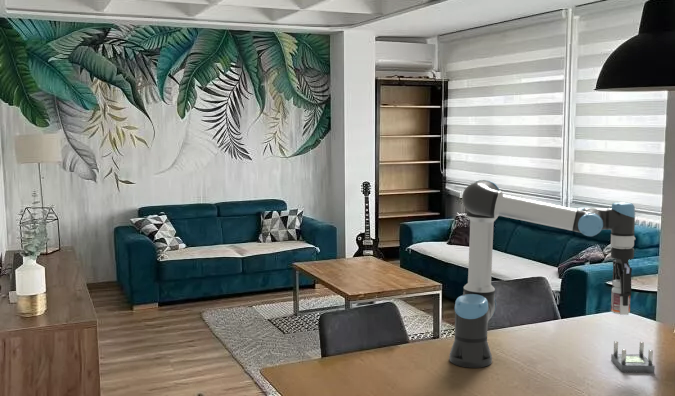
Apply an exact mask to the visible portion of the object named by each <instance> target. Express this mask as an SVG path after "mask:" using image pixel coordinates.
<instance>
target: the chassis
mask: <svg viewBox="0 0 675 396" xmlns="http://www.w3.org/2000/svg"><path fill="white" fill-rule="evenodd" d="M644 347H645V343H644V341H640V342H639V351H638V354H637V353H634V354H633V353H632V354H631V353H627V349H624V348H622V349H621V353H619V341H616V340H615V341H613V353H611V355H610V356H611V357H610V361H611V362H612V363H613V364H614V365H615V367H616V368H617V369H618V370H619V371H620V372H621V373H636V374H637V373H643V374H648V373H649V374H654V373H655V367H656V366H655V365H654V364H653V357H654V356H653V354H654V350H653V349H648V353H647V354H648V357H646V356H645V355H644V352H645V351H644V349H645V348H644Z"/></svg>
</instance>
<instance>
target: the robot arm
mask: <svg viewBox="0 0 675 396" xmlns="http://www.w3.org/2000/svg"><path fill="white" fill-rule="evenodd" d="M461 198H462V199H461V200H462V203H463V207H464V208H465V209H466V212H465V213H466V215H465V216H466V218H467V219H468V220H469V242H468V243H469V247H468V273H467V275H468V276H467V283H466V284H464V286H463V292H462V293H463V294H462V295H460V296H458V297H457V298H456V300H455V302H454V303H455V304H454V339H453V340H454V341H453V343H452V346H451V349H450V351H449V362H450V363H452V364H453V365H455V366H458V367H463V368H470V369H473V368H474V369H477V368H478V369H479V368H485V367H488V366H490V365H492V363H493V356H492V353H491V350H490V346H489V342H488V323H489V322H490V320H491V319H492V318H493V316H494V315H495V313H496V310H497V301H496V300H497V299H496V295H495V294H496V288H495V287H494V285H492V272H493V271H492V269H493V268H492V267H493V247H494V246H493V245H494V243H493V242H494V241H493V240H494V225H495V223H494V222H495V221H496V220H497V219H498V217H504V218H508V219H509V218H510V219H514V220H517V221H518V220H520V221H524V222H528V223H532V224H536V225H537V224H538V225H541V226H542V225H543V226H547V227H552V228H557V229H562V230H567V231H570V232H571V231H572V232H576V233H581V234H582V235H583V236H587V237H594V236H597V235H598V234H600V233H601V231H602V230H607V231H609V230H610V231H611V233H610V246H611V248H610V257H611V258H612V259H615V260H612V285H611V287H612V288H613V287H615V286H613V280H616V279H620V284H621V295H619V296H620V314H619V315H622V316H624V315H625V316H627V315H628V316H629V315H630V313H629V296H630V297H631V296H632V273H633V272H632V271H633V268H632V267H630V263H629V261H630V260H633V259H634V258H635V249H634V246H635V241H636V237H635V225H636V224H635V222H636V216H635V215H636V211H635V204H634V203H631V202H624V201H620V202H618V201H617V202H613V203H612V204H611V206H610V207H611V208H610V207H609V208H608V207H607V208H606V207H605V208H604V207H602V208H601V207H587V206H586V207H577V208H572V207H566V206H562V205H558V204H557V205H556V204H553V203H547V202H543V201H537V200H532V199H528V198H522V197H518V196H512V195H507V194H504V193H503V191H502V190H500V188H499V186H498V185H497V184H496V183H495V182H493V181H491V180H489V179H481V180H480V179H479V180H476V181H475V182H472V183H471V184H469V185H468V186H466V187H465V189H464V190H463V193H462V196H461Z"/></svg>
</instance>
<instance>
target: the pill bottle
mask: <svg viewBox="0 0 675 396" xmlns="http://www.w3.org/2000/svg"><path fill="white" fill-rule="evenodd" d="M612 282H613V286H615V287H612V288H611V295H610V296H611V298H610V299H611V301H610V302H611V303H610V311H611V312H612V314H616V315H620V296H619V295H621V284H620V279H616V280H613V279H612ZM630 312H631V296H629V314H630Z"/></svg>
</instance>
